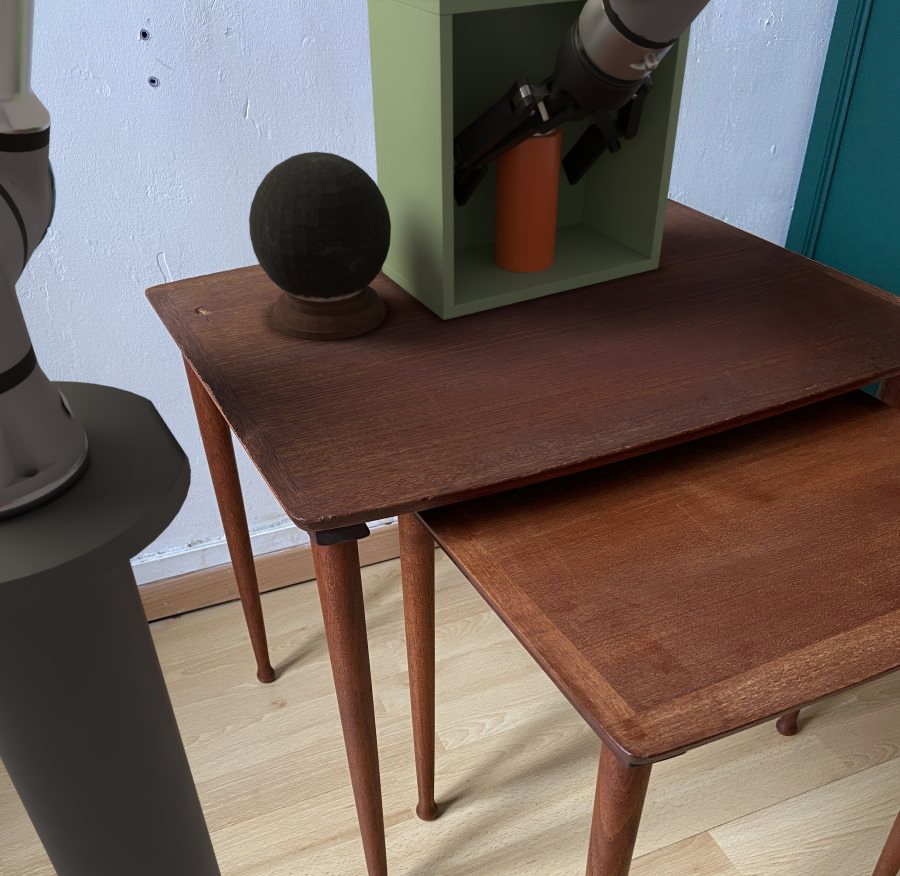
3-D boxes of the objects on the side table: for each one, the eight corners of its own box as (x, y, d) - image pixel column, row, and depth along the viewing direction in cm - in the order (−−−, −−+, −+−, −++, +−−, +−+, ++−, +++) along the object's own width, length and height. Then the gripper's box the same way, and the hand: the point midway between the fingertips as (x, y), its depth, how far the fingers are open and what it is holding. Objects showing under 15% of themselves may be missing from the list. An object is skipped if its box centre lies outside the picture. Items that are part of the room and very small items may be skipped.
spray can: (498, 274, 99) (503, 91, 88) (489, 251, 104) (493, 75, 93) (559, 271, 99) (571, 88, 88) (547, 248, 104) (557, 73, 93)
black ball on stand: (418, 325, 92) (413, 162, 83) (291, 356, 88) (270, 187, 78) (361, 279, 101) (350, 126, 91) (243, 305, 96) (218, 147, 87)
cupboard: (658, 268, 103) (698, -29, 85) (443, 320, 93) (439, -2, 76) (584, 229, 112) (606, -46, 95) (382, 272, 103) (365, -25, 85)
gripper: (502, 104, 74) (419, 238, 94) (747, 68, 83) (624, 197, 103) (469, 15, 74) (393, 167, 94) (717, -12, 83) (600, 132, 103)
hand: (513, 183), depth 98 cm, fingers open, 13 cm apart
